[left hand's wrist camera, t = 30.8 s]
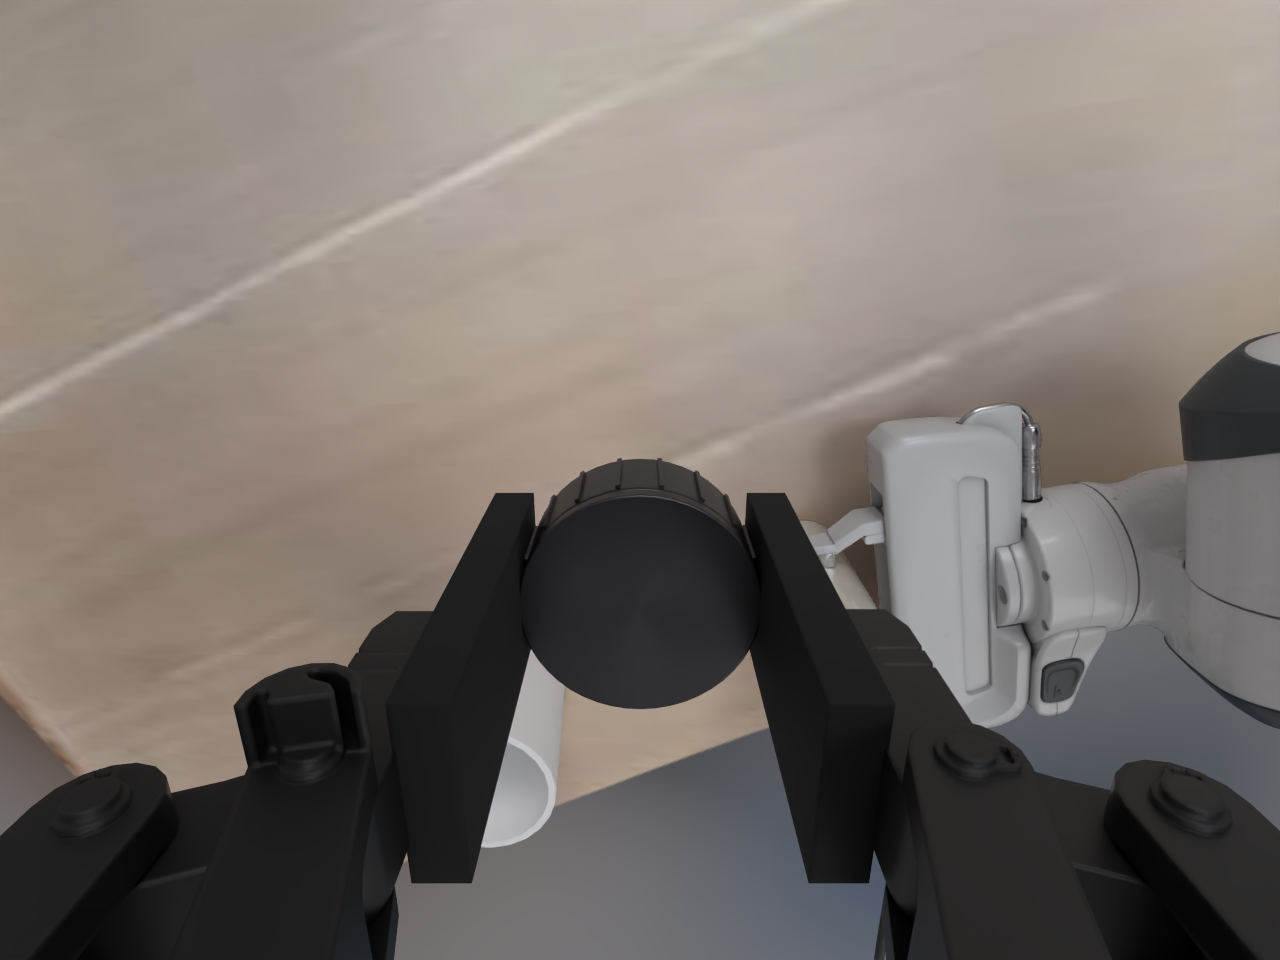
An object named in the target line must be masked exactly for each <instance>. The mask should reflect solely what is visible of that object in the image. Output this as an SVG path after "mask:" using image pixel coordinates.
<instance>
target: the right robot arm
mask: <svg viewBox="0 0 1280 960" xmlns="http://www.w3.org/2000/svg"><path fill="white" fill-rule="evenodd" d="M1179 412H1180V422H1181V433H1182V444H1183V455H1184V460H1185V461H1187V464H1183V465H1176V466H1170V467H1163V468H1157V469H1151V470H1147V471H1143V472H1140V473H1138V474H1135V475H1133V476H1131V477H1129V478H1127V479H1125V480H1122V481H1119V482H1115V483H1096V482H1076V483H1071V484H1065V485H1058V486H1053V487H1047V488H1041V468H1040V460H1039V448H1040V447H1041V430H1040V426H1039V424H1038V423H1035V422H1033V420H1032V417H1031V415H1030V413H1029V412H1028V411H1027V410H1026V409H1025V408H1024V407H1022V406H1020V405H1018V404H1016V403H1011V402H1003V403H997V404H992V405H986V406H981V407H977V408H974V409H972V410H970V411H968V412H967V413H965V414H964V415H963V416H962V417H923V418H911V419H901V420H893V421H887V422H883V423H881V424H879V425H878V426H877V427H876V428H875V429H874V430H873V431H872V432H871V433H870V434H869V435H868V436H867V438H866V441H865V443H866V456H867V468H868V479H869V491H870V503H871V506H870V507H865V508H859V509H854V510H851V511H850V512H849V513H848V514H846V515H845V516H844V517H843V518H841V519H840V520H839V521H837V522H836V523H835V524H834V525H832V526H831V527H830V528H829V529H827V530H826V532H824V533H818V534H813V535H807V536H808V538H809V540H810V542H811V544H812V546H813V547H814V549H815V551H816V553H817V555H818V557H819V559H820V561H821V563H822V565H823V567H824V568H833V567H836V562H835V555H836V554H838V553H839V552H841V551H842V550H844V549H845V548H847V547H848V546H850V545H851V544H853V543H854V542H856V541H857V540H859V539H860V538H862V540H863V541H864V543H865V544H867V545H870V544H874V551H875V563H876V575H877V587H878V599H879V609H885V610H887V611H888V612H889V613H891V614H892V615H894V616H895V617H896V618H898V619H899V620H901V621H902V622H903V623H905V624H906V625H908V626H909V628H910V629H911V631H912V632H913V634H914V635H915V637H916V638H917V640H918V641H919V643H920V644H921V646H922V650H925V652H926V653H927V655H928V656H929V658H930V659H931V661H932V663H933V667H936V669H937V670H938V672H939V673H940V675H941V676H942V678H943V679H944V681H945V682H946V684H947V685H948V687H949V688H950V690H951V691H952V693H953V694H954V696H955V697H956V699H957V701H958V702H959V704H960V705H961V707H962V708H963V710H964V711H965V713H966V714H967V716H968V717H969V719H970V720H971V722H972V723H973V724H977V725H981V726H983V727H985V728H991V727H995V726H999V725H1002V724H1004V723H1007V722H1009V721H1011V720H1013V719H1014V718H1016V717H1017V716H1018V715H1019V714H1020V713H1021V712H1022V711H1023V710H1024V708H1025V707H1026V705H1027V703H1028V705H1029V706H1030V707H1031V708H1032V709H1033V710H1034V711H1035V712H1036V713H1037V714H1039V715H1042V716H1051V715H1057V714H1061V713H1064V712H1066V711H1067V710H1068V709H1069V708H1070V707H1071V705H1072V704H1073V701H1074V699H1075V697H1076V694H1077V692H1078V689H1079V687H1080V685H1081V682H1082V680H1083V678H1084V675H1085V673H1086V671H1087V669H1088V667H1089V665H1090V663H1091V661H1092V659H1093V657H1094V656H1095V654H1096V652H1097V651H1098V649H1099V648H1100V646H1101V645H1102V643H1103V641H1104V639H1105V637H1106V633H1107V632H1113V631H1118V630H1122V629H1124V628H1127V627H1130V626H1133V625H1138V624H1144V625H1150V626H1153V627H1155V628H1157V629H1159V630H1160V631H1161V632H1162V633H1163V634H1164V635H1165V636H1164V640H1165V642H1166V644H1167V645H1168V647H1169V648H1170V649H1171V650H1172V651H1173V652H1174V653H1175V654H1176V655H1177V656H1178V657H1179V658H1180V659H1181V660H1182V661H1183V662H1184V663H1185V664H1186V665H1187V666H1188V667H1189V668H1190V669H1191V670H1192V671H1194V672H1195V673H1196V674H1197V675H1198V676H1199V677H1200V678H1201V679H1202V680H1204V681H1205V682H1206V683H1207V684H1208V685H1209V686H1210V687H1212V688H1213V689H1214V690H1215V691H1216V692H1217V693H1219V694H1220V695H1221V696H1222V697H1224V698H1225V699H1226V700H1228V701H1229V702H1230V703H1231V704H1233V705H1234V706H1236V707H1237V708H1239V709H1240V710H1242V711H1243V712H1245V713H1246V714H1248V715H1250V716H1251V717H1253V718H1254V719H1256V720H1258V721H1260V722H1262V723H1264V724H1266V725H1269V726H1272V727H1275V728H1278V729H1280V332H1277V333H1272V334H1267V335H1263V336H1259V337H1256V338H1253V339H1250V340H1248V341H1246V342H1244V343H1242V344H1241V345H1239V346H1238V347H1237V348H1235V349H1234V350H1233V351H1231V352H1230V353H1229V354H1227V355H1226V356H1225V357H1224V358H1222V359H1221V360H1220V361H1219V362H1218V363H1217V364H1215V365H1214V366H1213V367H1212V368H1211V369H1210V370H1209V371H1208V372H1207V373H1206V374H1205V375H1204V376H1203V377H1202V378H1201V379H1200V380H1199V381H1198V382H1197V383H1196V384H1195V385H1194V386H1193V387H1192V388H1191V389H1190V390H1189V392H1188V393H1187V394H1186V395H1185V396H1184V397H1183V399H1182V400H1181V401H1180V402H1179ZM1022 418H1023V419H1024V422H1025V423H1022Z"/></svg>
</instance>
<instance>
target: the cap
mask: <svg viewBox="0 0 1280 960" xmlns="http://www.w3.org/2000/svg"><path fill="white" fill-rule="evenodd" d="M755 561H757V558H756V555H755V552H754V549H753V546H752V543H751V541H750V538H749V535H748V532H747V529H746V526H745V525H742V524H741V521H740V519H739V517H738V515H737V513H736V511H735V510H734V508H733V507H732V505H731V503H730V500H729V496H728V495H727V494H725V495H723V494H722V493H721V492H720V491H719V490H718V489H717V488H716V487H715V486H714V485H713V484H711V483H710V482H709V481H708V480H706V479H705V478H703V477H701V476H700V473H699V472H698V471H695V472H693V471H691V470H688V469H686V468H684V467H682V466H678V465H675V464H672V463H669V462H664V461H662V459H661V458H658V459H657V460H649V459H632V460H622V458H620V459H617V462H612V463H608V464H605V465H602V466H599V467H596V468H594V469H592V470H590V471H588V472H586V473H585V472H584V471H582V472H581V473H580V476H579V477H578V478H576V479H575V480H573V481H572V482H570V483H569V484H568V485H567V486H566V487H565V488H563V489H562V490H561V491H560V492H559V493H558V495H557V496H555V495H553V496H552V497H551V500H550V503H549V506H548V508H547V509H546V511H545V512H544V515H543V517H542V519H541V521H540V523H539V526H535V528H534V531H533V534H532V537H531V539H530V542H529V545H528V548H527V551H526V554H525V557H524V560H523V562H525V563H526V565H525V568H524V571H523V575H522V578H521V582H520V605H521V620H522V628H523V632H524V635H525V637H526V640H527V642H528V644H529V646H530V648H531V650H532V651H533V653H534V654H535V656H536V658H537V659H538V661H539V662H540V663H541V664H542V665H543V667H544V668H545V669H546V670H547V671H548V672H549V673H550V674H551V675H552V676H553V677H554V678H555V679H557V680H558V681H559V682H560V683H562V684H563V685H565V686H566V687H567V688H569V689H570V690H572V691H574V692H576V693H578V694H579V695H581V696H583V697H586V698H588V699H591V700H593V701H596V702H599V703H602V704H606V705H610V706H615V707H621V708H630V709H650V708H660V707H666V706H671V705H675V704H678V703H682V702H685V701H688V700H690V699H692V698H695V697H697V696H699V695H701V694H703V693H705V692H707V691H709V690H710V689H712V688H713V687H715V686H716V685H718V684H719V683H720V682H722V681H723V680H724V679H725V678H726V677H727V676H729V675H730V674H731V673H732V672H733V671H734V670H735V669H736V667H737V666H738V665H739V664H740V663H741V661H742V660H743V659H744V657H745V656H746V654H747V652H748V651H749V649H750V648H751V645H752V643H753V641H754V639H755V637H756V634H757V631H758V626H759V612H760V597H761V584H760V579H759V575H758V572H757V569H756V566H755V563H754V562H755Z"/></svg>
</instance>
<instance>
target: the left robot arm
mask: <svg viewBox="0 0 1280 960" xmlns="http://www.w3.org/2000/svg"><path fill="white" fill-rule="evenodd" d="M745 526H746V529H747V532H748V535H749V538H750V541H751V543H752V546H753V549H754V552H755V555H756V558H757V561H755V562H754V563H755V566H756V569H757V572H758V575H759V579H760V584H761V597H760V612H759V626H758V631H757V634H756V637H755V639H754V641H753V643H752V645H751V648H750V653H751V657H752V661H753V665H754V669H755V673H756V677H757V681H758V685H759V688H760V692H761V696H762V700H763V704H764V708H765V712H766V716H767V720H768V724H769V728H770V732H771V736H772V740H773V744H774V748H775V752H776V756H777V760H778V764H779V768H780V771H781V775H782V779H783V783H784V787H785V791H786V795H787V799H788V803H789V807H790V811H791V815H792V819H793V823H794V827H795V831H796V835H797V839H798V843H799V847H800V851H801V854H802V858H803V862H804V866H805V870H806V874H807V878H808V882H809V883H869V879H870V872H871V865H872V859H873V852H874V851H875V853H876V856H877V859H878V861H879V864H880V867H881V870H882V872H883V875H884V878H885V880H886V886H885V892H884V898H883V904H882V910H881V917H880V923H879V929H878V936H877V942H876V949H875V957H874V960H884V957H885V952H886V960H1280V831H1279V830H1278V829H1277V828H1276V827H1275V826H1274V825H1273V824H1272V823H1271V822H1270V821H1268V820H1267V819H1266V818H1265V817H1264V816H1263V815H1262V814H1261V813H1260V812H1259V811H1258V810H1257V809H1256V808H1255V807H1253V806H1252V805H1251V804H1250V803H1249V802H1247V801H1246V800H1245V799H1244V798H1242V797H1241V796H1240V795H1238V794H1237V793H1236V792H1234V791H1233V790H1232V789H1230V788H1229V787H1228V786H1226V785H1224V784H1222V783H1220V782H1218V781H1216V780H1214V779H1212V778H1210V777H1208V776H1206V775H1204V774H1202V773H1200V772H1198V771H1195V770H1192V769H1189V768H1186V767H1183V766H1179V765H1176V764H1173V763H1169V762H1160V761H1151V760H1141V761H1136V762H1131V763H1126V764H1125V765H1124V766H1123V767H1121V768H1120V769H1119V770H1118V771H1117V772H1116V773H1115V776H1114V780H1113V783H1112V787H1111V790H1107V789H1103V788H1098V787H1094V786H1089V785H1085V784H1080V783H1076V782H1072V781H1067V780H1063V779H1058V778H1054V777H1051V776H1048V775H1044V774H1041V773H1038V772H1035V771H1034V769H1033V767H1032V765H1031V764H1030V762H1029V761H1028V759H1027V758H1026V757H1025V755H1024V754H1023V752H1022V751H1021V750H1020V749H1019V748H1018V747H1016V746H1015V745H1014V744H1013V743H1011V742H1010V741H1009V740H1007V739H1006V738H1005V737H1004V736H1002V735H1000V734H998V733H996V732H994V731H991V730H989V729H987V728H985V727H983V726H981V725H977V724H973V723H972V722H971V720H970V719H969V717H968V716H967V714H966V713H965V711H964V710H963V708H962V707H961V705H960V704H959V702H958V701H957V699H956V697H955V696H954V694H953V693H952V691H951V690H950V688H949V687H948V685H947V684H946V682H945V681H944V679H943V678H942V676H941V675H940V673H939V672H938V670H937V669H936V667H933V663H932V661H931V659H930V658H929V656H928V655H927V653H926V652H925V650H922V646H921V644H920V643H919V641H918V640H917V638H916V637H915V635H914V634H913V632H912V631H911V629H910V628H909V626H908V625H906V624H905V623H903V622H902V621H901V620H899V619H898V618H896V617H895V616H894V615H892V614H891V613H889V612H888V611H887V610H885V609H846V608H845V606H844V605H843V603H842V601H841V599H840V597H839V595H838V593H837V591H836V589H835V587H834V586H833V584H832V582H831V580H830V578H829V576H828V574H827V572H826V570H825V568H824V567H823V565H822V563H821V561H820V559H819V557H818V555H817V553H816V551H815V549H814V547H813V546H812V544H811V542H810V540H809V538H808V536H807V534H806V532H805V530H804V528H803V527H802V525H801V523H800V521H799V519H798V517H797V515H796V513H795V511H794V509H793V508H792V506H791V504H790V502H789V500H788V498H787V496H786V494H785V493H747V501H746V519H745ZM534 528H535V510H534V493H495V495H494V497H493V499H492V501H491V503H490V505H489V507H488V508H487V510H486V512H485V514H484V516H483V518H482V520H481V522H480V524H479V526H478V528H477V529H476V531H475V533H474V535H473V537H472V539H471V541H470V543H469V545H468V547H467V548H466V550H465V552H464V554H463V556H462V558H461V560H460V562H459V564H458V566H457V567H456V569H455V571H454V573H453V575H452V577H451V579H450V581H449V583H448V585H447V587H446V588H445V590H444V592H443V594H442V596H441V598H440V600H439V602H438V604H437V606H436V607H435V609H434V611H396V612H395V613H393V614H392V615H390V616H389V617H388V618H386V619H385V620H383V621H382V622H381V623H379V624H378V625H376V626H375V627H374V628H372V630H371V631H370V633H369V634H368V636H367V637H366V639H365V640H364V642H363V643H362V645H361V646H360V648H359V653H356V654H355V656H354V657H353V659H352V660H351V662H350V663H349V665H348V667H346V666H342V665H339V664H335V663H311V664H306V665H302V666H297V667H292V668H288V669H285V670H283V671H281V672H278V673H276V674H273V675H271V676H268V677H266V678H264V679H263V680H261V681H260V682H258V683H257V684H255V685H254V686H252V687H251V688H249V689H248V690H246V691H245V692H244V694H243V695H242V696H241V697H240V699H239V700H238V701H237V702H236V704H235V705H234V710H235V715H236V719H237V723H238V727H239V731H240V736H241V740H242V744H243V748H244V752H245V757H246V761H247V765H248V768H247V771H246V773H245V775H243V776H240V777H236V778H233V779H230V780H226V781H222V782H218V783H214V784H209V785H205V786H200V787H196V788H191V789H187V790H183V791H178V792H174V793H171V791H170V788H169V784H168V781H167V778H166V776H165V775H164V774H163V773H162V772H161V771H160V770H159V769H158V768H157V767H156V766H151V765H145V764H140V763H131V764H122V765H113V766H109V767H106V768H103V769H99V770H96V771H93V772H90V773H87V774H84V775H82V776H80V777H78V778H76V779H74V780H72V781H70V782H68V783H66V784H64V785H62V786H60V787H58V788H56V789H54V790H53V791H52V792H50V793H49V794H48V795H47V796H45V797H44V798H43V799H41V800H40V801H39V802H37V803H36V804H35V805H33V806H32V807H31V808H30V809H29V810H28V811H27V812H25V813H24V814H23V815H22V816H21V817H20V818H19V819H18V820H17V821H16V822H15V823H14V824H13V825H12V826H11V827H9V828H8V829H7V830H6V831H5V832H4V833H3V834H2V835H1V836H0V960H394V954H395V945H396V935H397V926H398V917H399V914H398V906H397V898H396V892H395V886H394V885H395V883H396V880H397V877H398V875H399V872H400V869H401V866H402V864H403V861H404V858H405V856H406V853H407V856H408V862H409V869H410V876H411V882H412V883H472V880H473V876H474V872H475V868H476V864H477V860H478V856H479V852H480V848H481V845H482V841H483V837H484V833H485V829H486V825H487V821H488V817H489V813H490V809H491V805H492V801H493V797H494V793H495V789H496V785H497V781H498V777H499V773H500V769H501V765H502V761H503V758H504V754H505V750H506V746H507V742H508V738H509V734H510V730H511V726H512V722H513V718H514V714H515V710H516V706H517V702H518V698H519V694H520V690H521V686H522V682H523V678H524V674H525V671H526V667H527V663H528V659H529V655H530V651H531V648H530V646H529V644H528V642H527V640H526V637H525V635H524V632H523V628H522V620H521V605H520V582H521V578H522V575H523V571H524V568H525V565H526V563H525V562H523V560H524V557H525V554H526V551H527V548H528V545H529V542H530V539H531V537H532V534H533V531H534Z"/></svg>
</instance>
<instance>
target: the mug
mask: <svg viewBox="0 0 1280 960" xmlns="http://www.w3.org/2000/svg"><path fill="white" fill-rule="evenodd" d="M564 696H565V685H563V684H562V683H560V682H559V681H558V680H557V679H555V678H554V677H553V676H552V675H551V674H550V673H549V672H548V671H547V670H546V669H545V668H544V667H543V665H542V664H541V663H540V662H539V661H538V659H537V658H536V656H535V654H534V653H533V651H532V650H531V651H530V655H529V659H528V663H527V667H526V671H525V674H524V678H523V682H522V686H521V690H520V694H519V698H518V702H517V706H516V710H515V714H514V718H513V722H512V726H511V730H510V734H509V738H508V742H507V746H506V750H505V754H504V758H503V761H502V765H501V769H500V773H499V777H498V781H497V785H496V789H495V793H494V797H493V801H492V805H491V809H490V813H489V817H488V821H487V825H486V829H485V833H484V837H483V841H482V845H481V847H490V848H492V847H499V846H505V845H511V844H513V843H516V842H518V841H521V840H524V839H526V838H528V837H529V836H530V835H532V834H533V833H535V832H536V831H538V830H539V829H540V828H541V827H542V826H543V824H544V823H545V822H546V821H547V819H548V818H549V817H550V815H551V812H552V809H553V807H554V804H555V801H556V790H557V778H558V766H559V754H560V742H561V730H562V718H563V706H564Z"/></svg>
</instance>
